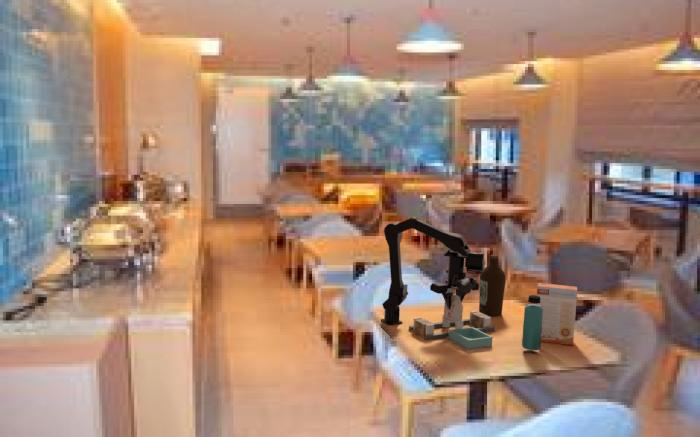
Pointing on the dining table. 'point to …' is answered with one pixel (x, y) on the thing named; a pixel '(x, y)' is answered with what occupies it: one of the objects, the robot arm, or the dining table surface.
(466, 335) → the teal tray
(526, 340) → the beverage bottle
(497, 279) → the olive oil
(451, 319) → the tea bag
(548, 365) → the dining table surface
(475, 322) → the walnut block
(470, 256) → the robot arm
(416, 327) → the walnut block
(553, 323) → the cracker box
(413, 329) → the clip holder
